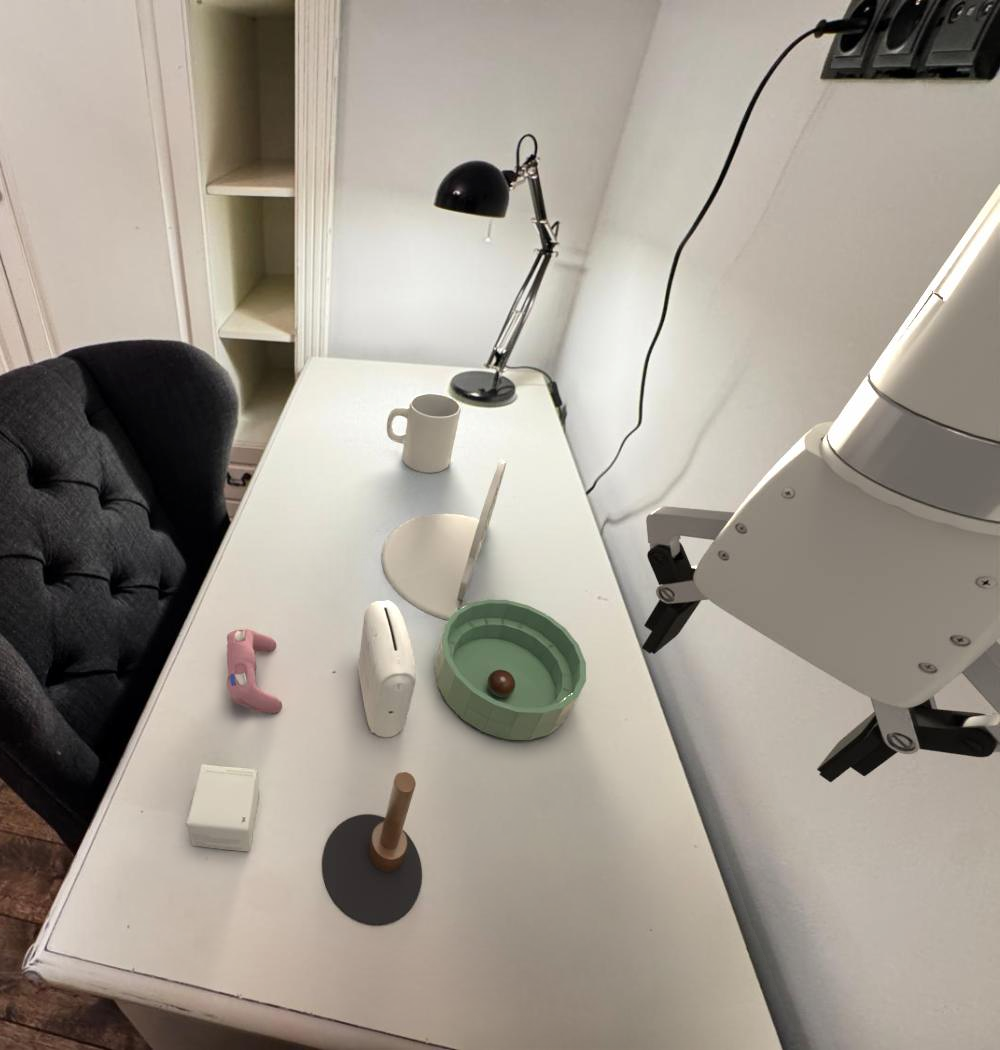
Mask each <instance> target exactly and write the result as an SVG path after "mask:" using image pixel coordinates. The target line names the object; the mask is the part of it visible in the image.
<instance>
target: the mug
mask: <svg viewBox="0 0 1000 1050" xmlns="http://www.w3.org/2000/svg"><path fill="white" fill-rule="evenodd" d="M461 410H462V408H461V405H460V403H459V402H458V401H457V400H456V399H454V398H452V397H450V396H448V395H443V394H440V393H423V394H419V395H417V396H415V397H413V398H412V399H411V400H410V402H409V406H396V407H394V408H392V410H391V411H390V412H389V414H388V417H387V422H386V433H387V436H388V438H389V439H390V440H391V441H393V442H395V443H398V444H401V445H403V448H402V453H401V458H402V461H403V463H404V464H405V465H406V466H407V467H408V468H409V469H411V470H413V471H416V472H420V473H424V474H434V473H440V472H442V471H444V470H446V469H448V467H449V466H450V463H451V459H452V454H453V449H454V444H455V441H456V440H455V439H456V435H457V429H458V425H459V420H460V415H461ZM396 417H403V418H405V419H406V427H405V433H397V432H395V430H394V428H393V424H394V419H395V418H396Z"/></svg>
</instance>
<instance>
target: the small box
mask: <svg viewBox="0 0 1000 1050" xmlns="http://www.w3.org/2000/svg"><path fill="white" fill-rule="evenodd" d="M258 774H259V773H258V770H257V769H252V768H245V767H244V768H243V767H232V766H220V765H211V764H201V765H200V768H199V771H198V776H197V780H196V784H195V787H194V791H193V795H192V798H191V802H190V804H189V805H190V806H189V809H188V813H187V818H186V821H185V825H186V828H187V831H188V835H189V839H190V841H191V842H190V843H191V845H192V846H193V847H200V848H201V847H202V848H211V849H218V850H228V851H229V850H230V851H236V852H237V851H238V852H239V851H240V852H251V848H252V842H253V835H254V830H255V829H254V828H255V823H256V816H257V811H258V804H259V800H260V799H259V798H260V783H259V775H258Z"/></svg>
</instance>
